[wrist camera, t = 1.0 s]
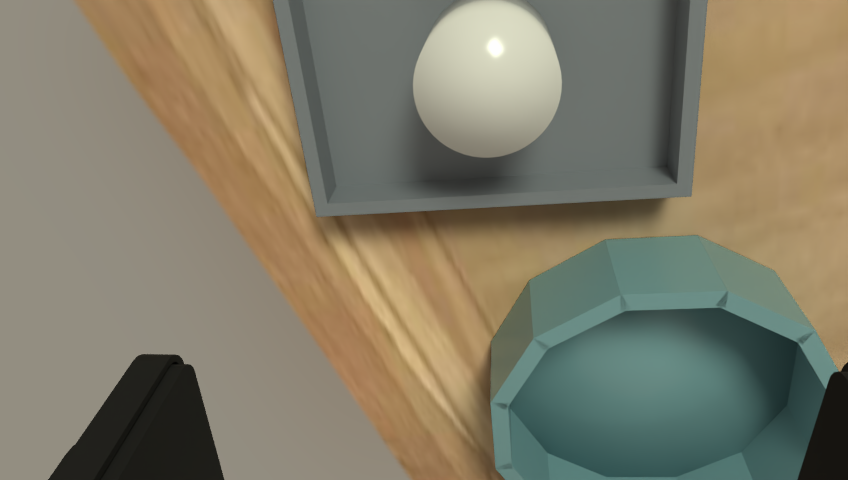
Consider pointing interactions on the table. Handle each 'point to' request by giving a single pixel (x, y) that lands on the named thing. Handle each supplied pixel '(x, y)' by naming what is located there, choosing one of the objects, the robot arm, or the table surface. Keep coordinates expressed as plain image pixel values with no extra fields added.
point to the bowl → (655, 368)
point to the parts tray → (517, 172)
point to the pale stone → (487, 77)
